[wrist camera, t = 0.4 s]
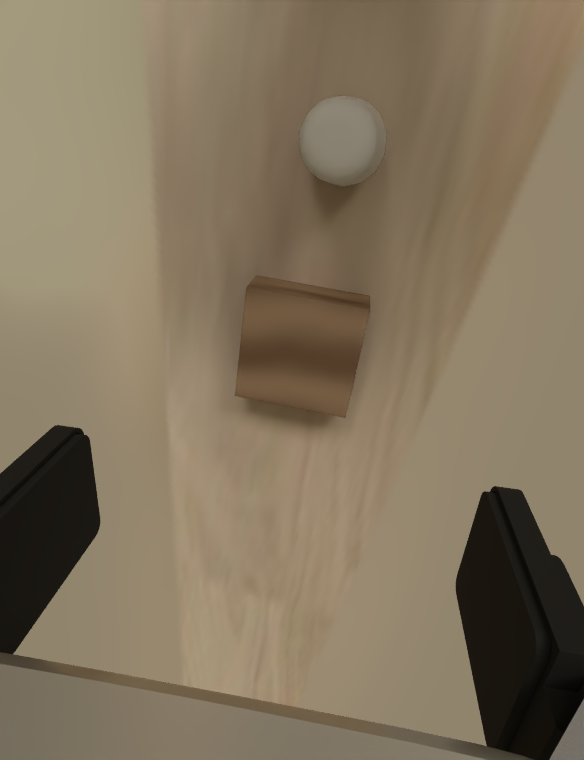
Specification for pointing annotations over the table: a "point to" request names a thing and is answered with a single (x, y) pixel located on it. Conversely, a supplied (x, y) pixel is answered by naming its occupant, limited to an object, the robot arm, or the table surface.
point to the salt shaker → (342, 140)
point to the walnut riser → (300, 345)
